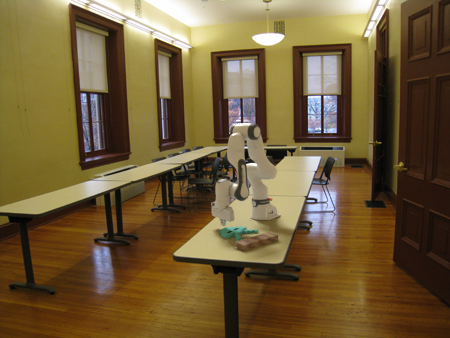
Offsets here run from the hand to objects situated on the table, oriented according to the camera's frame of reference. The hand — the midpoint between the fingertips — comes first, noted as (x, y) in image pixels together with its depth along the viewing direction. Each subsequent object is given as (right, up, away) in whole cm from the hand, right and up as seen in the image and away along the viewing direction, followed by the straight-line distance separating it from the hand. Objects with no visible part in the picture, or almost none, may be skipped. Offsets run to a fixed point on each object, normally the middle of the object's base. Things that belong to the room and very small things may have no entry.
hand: (223, 225), depth 236 cm
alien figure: (+8, -5, -9) cm, 13 cm away
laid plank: (+20, -6, -29) cm, 36 cm away
